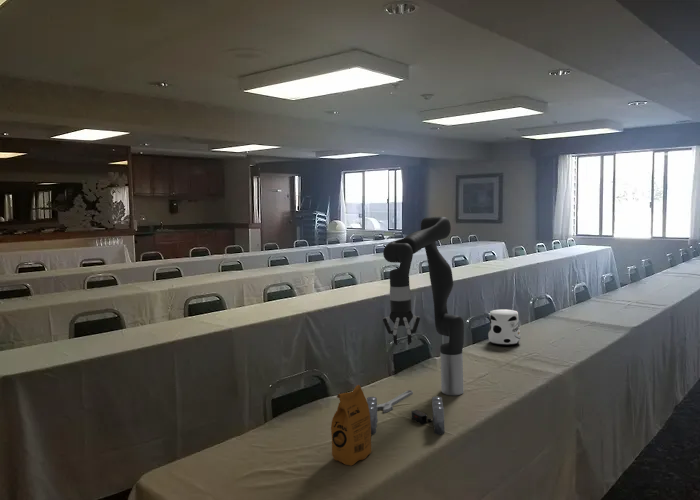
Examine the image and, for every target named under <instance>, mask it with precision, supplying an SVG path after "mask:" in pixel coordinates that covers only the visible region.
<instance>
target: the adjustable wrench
mask: <svg viewBox="0 0 700 500" xmlns="http://www.w3.org/2000/svg"><path fill="white" fill-rule="evenodd" d="M413 393H414V392H413V390H411V389H410V390H406V391H405V392H402V393H401V394H399V395H397V396H396V397H394V398H392V399H390V400H389V401H386V402H384V403H380V404H378V403H377V411H379V410H383V413H385V414H386V413H388V412H391V411H393V408H394V407H393V406H395V405H396V404H398V403H399V402H402V401H404V400H405V399H406V398H408V397H410V396H411V395H413Z"/></svg>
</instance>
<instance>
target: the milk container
mask: <svg viewBox="0 0 700 500" xmlns="http://www.w3.org/2000/svg"><path fill="white" fill-rule="evenodd" d="M519 317H520V316H519V312H518V311H517V310H513V309H506V308H505V309H493V310H490V311H489V329H488V334H487V336H488V340H489V342H490V343H492V344H493V345H497V346H502V347H503V346H512V345H513V346H514V345H517V344H519V343H520V341H521V331H520V327H519Z"/></svg>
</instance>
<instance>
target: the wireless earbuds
mask: <svg viewBox="0 0 700 500" xmlns="http://www.w3.org/2000/svg"><path fill="white" fill-rule="evenodd" d="M411 420H412V421H414V422H416V423H419V424H420V425H426V424H427V423H433V419H432V418H430V417H428V414H427V413H424V412H423V411H420V410H418V409H415V410H411Z"/></svg>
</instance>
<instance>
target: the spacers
mask: <svg viewBox="0 0 700 500" xmlns="http://www.w3.org/2000/svg"><path fill="white" fill-rule="evenodd" d="M431 399H432V400H431V401H432V403H431V406H432V420H433V422H432V423H433V424H432V425H433V432H434V434H435V435H437V436H438V435H439V436H441V435H442V436H443V435H444V434H445V433H446V432H445V408H444V402H443V397H442V396H433V397H432V398H431ZM366 401H367V403H368V407H369V413H370V423H371V435H375V434H376V433H377V427H378V424H377V423H378V422H379V421H378V410H377V405H378V400H377V397H376V396H367V398H366Z"/></svg>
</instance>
